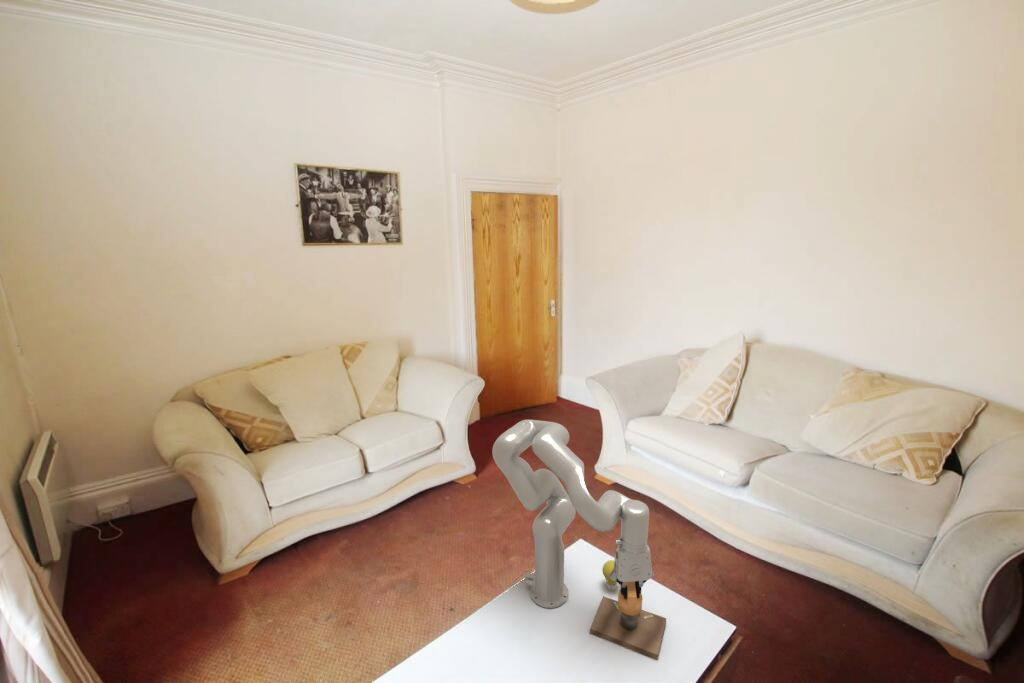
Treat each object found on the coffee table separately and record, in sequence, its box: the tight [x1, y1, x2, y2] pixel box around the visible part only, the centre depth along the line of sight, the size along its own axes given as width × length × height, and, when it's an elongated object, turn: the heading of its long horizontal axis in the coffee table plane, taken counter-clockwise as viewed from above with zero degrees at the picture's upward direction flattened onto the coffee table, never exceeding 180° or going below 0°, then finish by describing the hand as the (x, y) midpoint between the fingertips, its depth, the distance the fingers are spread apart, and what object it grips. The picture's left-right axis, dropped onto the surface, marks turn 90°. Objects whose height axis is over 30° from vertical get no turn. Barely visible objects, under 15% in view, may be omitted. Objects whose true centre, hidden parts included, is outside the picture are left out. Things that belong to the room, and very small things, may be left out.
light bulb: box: [602, 559, 618, 591], centre depth 159 cm, size 7×7×10 cm
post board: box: [589, 595, 667, 661], centre depth 143 cm, size 20×14×8 cm
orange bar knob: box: [617, 581, 643, 616], centre depth 141 cm, size 11×7×8 cm, turn 170°
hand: (630, 594), depth 140 cm, fingers closed on orange bar knob, 3 cm apart
